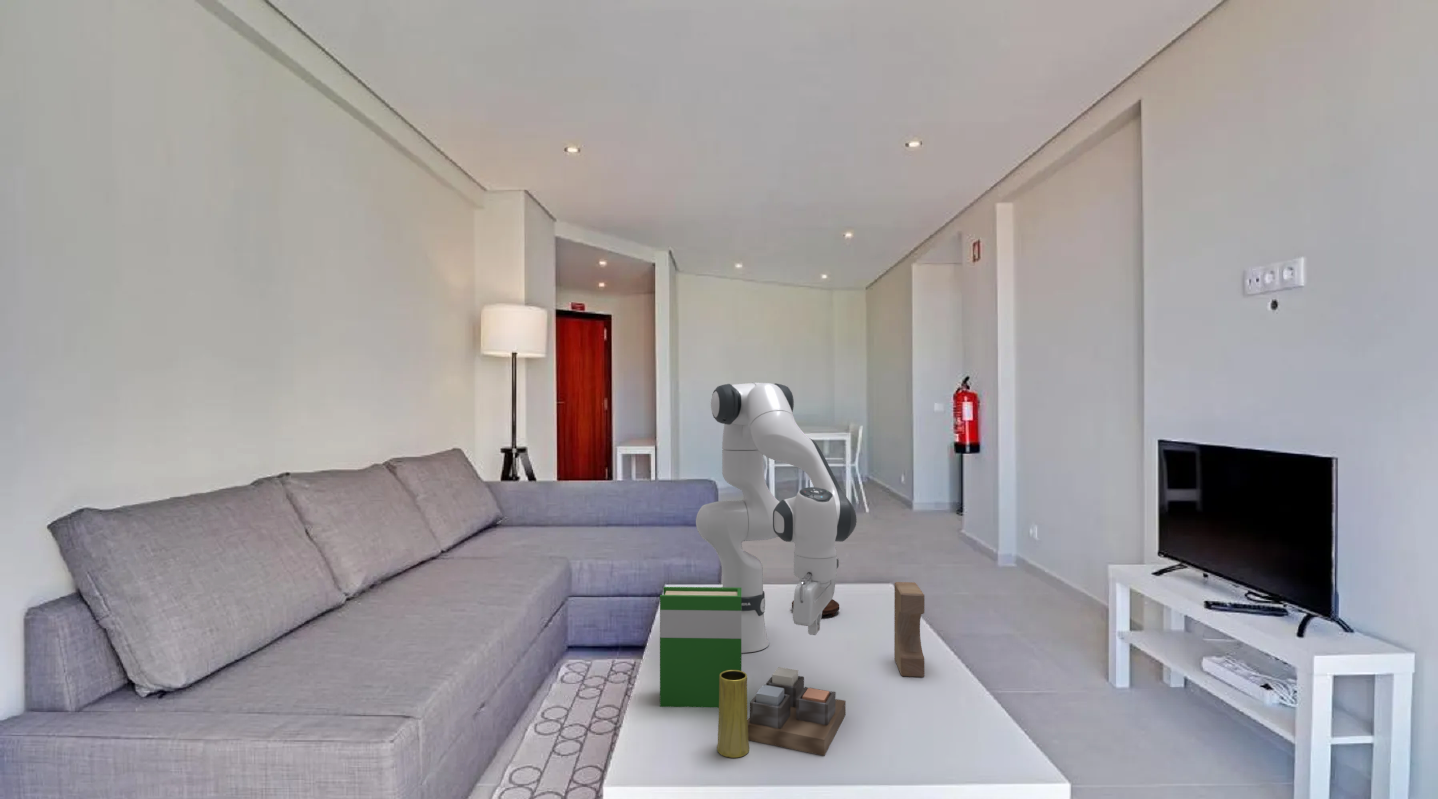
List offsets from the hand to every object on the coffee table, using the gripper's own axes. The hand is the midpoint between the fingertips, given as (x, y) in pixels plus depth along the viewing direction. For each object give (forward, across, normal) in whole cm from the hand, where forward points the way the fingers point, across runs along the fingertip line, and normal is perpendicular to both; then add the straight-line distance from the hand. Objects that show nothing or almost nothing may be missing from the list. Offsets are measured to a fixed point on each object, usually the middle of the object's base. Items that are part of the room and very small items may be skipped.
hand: (814, 632), depth 144 cm
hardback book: (+19, -2, +25) cm, 31 cm away
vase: (+18, -19, +10) cm, 28 cm away
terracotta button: (+13, -5, -2) cm, 15 cm away
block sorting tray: (+18, -6, +2) cm, 19 cm away
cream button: (+13, 0, +6) cm, 14 cm away
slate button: (+12, -10, +6) cm, 17 cm away
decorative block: (+19, +34, -15) cm, 42 cm away
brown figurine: (+21, +69, +18) cm, 75 cm away
